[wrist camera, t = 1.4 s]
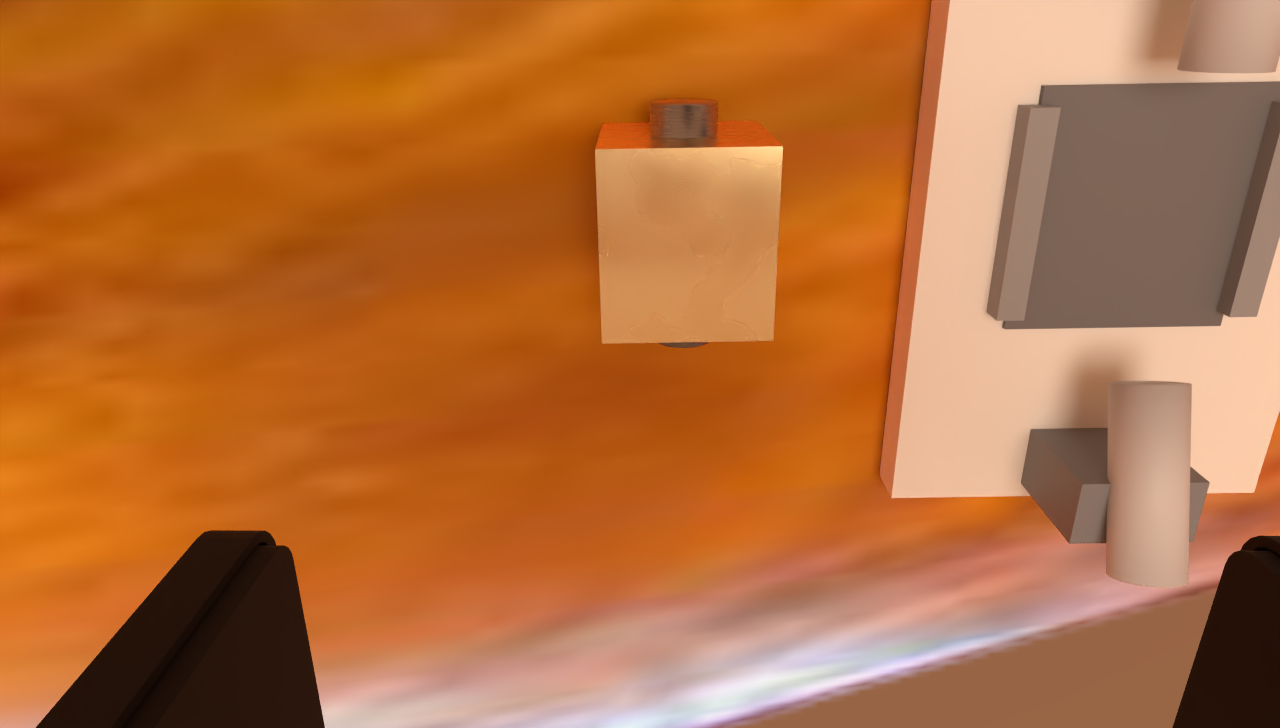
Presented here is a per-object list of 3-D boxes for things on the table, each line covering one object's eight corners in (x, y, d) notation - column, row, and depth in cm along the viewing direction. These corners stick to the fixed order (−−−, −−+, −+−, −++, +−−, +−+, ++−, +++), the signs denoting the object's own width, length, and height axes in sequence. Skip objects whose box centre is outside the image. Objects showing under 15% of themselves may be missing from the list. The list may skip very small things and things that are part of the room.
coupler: (601, 94, 24) (593, 114, 20) (756, 91, 24) (784, 111, 20) (608, 309, 27) (602, 371, 22) (748, 307, 27) (771, 368, 22)
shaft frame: (949, -161, 22) (1074, -227, 16) (1411, -169, 22) (1722, -239, 16) (878, 482, 29) (944, 611, 23) (1222, 477, 29) (1380, 604, 23)
